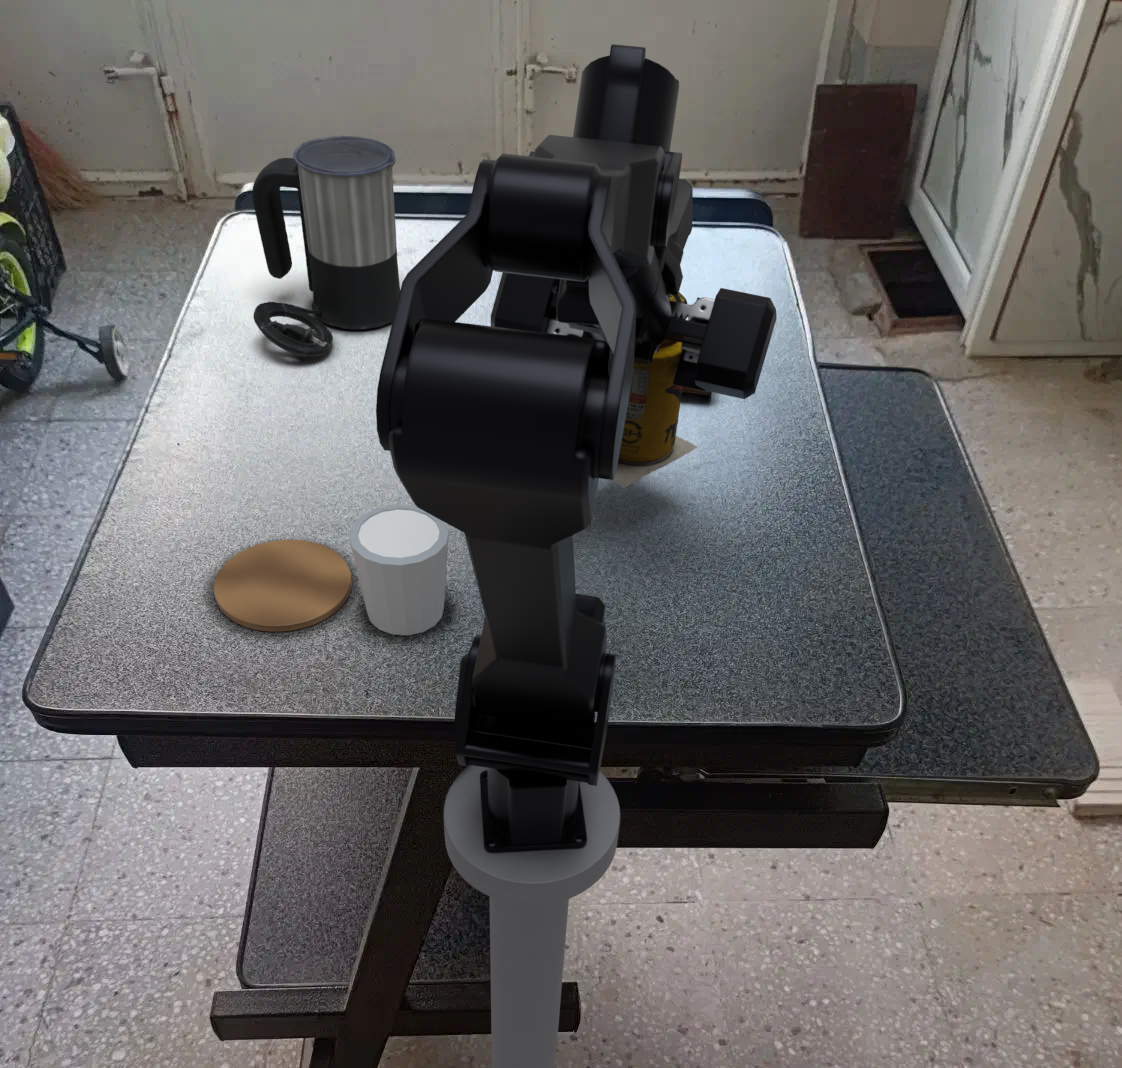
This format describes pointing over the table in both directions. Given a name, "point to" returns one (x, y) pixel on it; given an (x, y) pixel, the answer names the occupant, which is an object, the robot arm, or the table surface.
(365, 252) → the milk frother
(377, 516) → the white tapered cup
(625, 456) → the condiment
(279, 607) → the cork coaster
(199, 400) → the table surface
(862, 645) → the table surface
